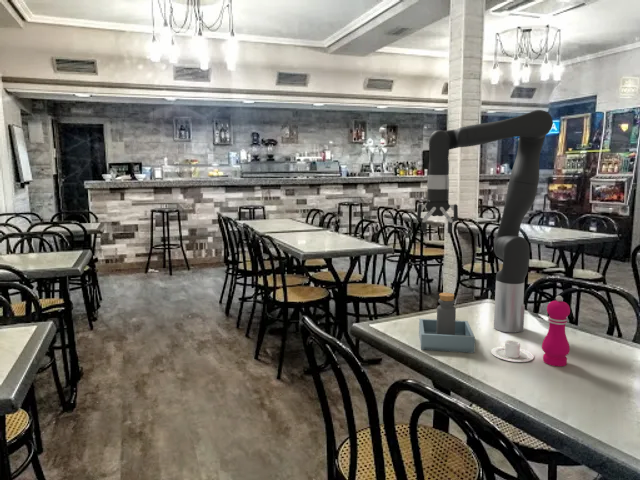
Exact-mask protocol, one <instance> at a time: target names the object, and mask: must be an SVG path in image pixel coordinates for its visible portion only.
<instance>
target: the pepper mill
mask: <svg viewBox="0 0 640 480" xmlns="http://www.w3.org/2000/svg"><path fill="white" fill-rule="evenodd" d="M546 312H547V314H548V317H547V318H548V319H547V321H548V323H549V325H548V331H547V333H546V335H545V336H544V339H543V341H542V343H541V344H542V345H541V349H542V352H543V355H542V361H543V362H544V363H545V364H546V365H549V366H553V367H565V366H566V365H567V364H568V358H567V355H569V353H570V351H571V350H570V343H569V341H568V337H567V336H566V335H567V333H566V325H567V324H568V316H569V315H570V314H571V308H570V305H569V304H568V303H567V302H565V301H563V296H561V295H557V296H556V297H555V300H552V301H549V303H548V304H547V306H546Z"/></svg>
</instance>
